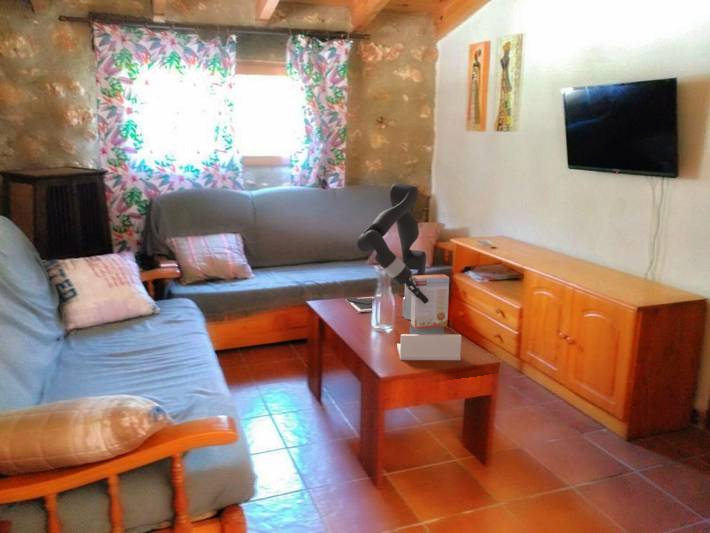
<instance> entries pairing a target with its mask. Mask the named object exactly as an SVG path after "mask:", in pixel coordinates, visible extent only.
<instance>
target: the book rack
mask: <svg viewBox="0 0 710 533" xmlns="http://www.w3.org/2000/svg"><path fill="white" fill-rule="evenodd" d="M396 348H397V352H398V356H399V360H400V361H461V351H462V350H461V348H462V335H461V334H444V335H441V334H410V333H408V334H407V333H405V334H404V333H403V334H400V343H396Z"/></svg>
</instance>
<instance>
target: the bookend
mask: <svg viewBox="0 0 710 533" xmlns="http://www.w3.org/2000/svg"><path fill="white" fill-rule="evenodd" d="M409 334H441V335H445V327H434V328H419V329H415V328H414V327H413V326H412V325H411V324H410V325H409Z"/></svg>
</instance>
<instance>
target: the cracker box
mask: <svg viewBox="0 0 710 533" xmlns="http://www.w3.org/2000/svg"><path fill="white" fill-rule="evenodd" d="M412 278H413V280H414V281H415V284H416V287H417V288H418V287H419V290H420V291H421V292H422V293H423V294H424V295H425V296H426V297H427V298H428V300H429V301H428V302H427V303H426V304H425V303H423V302H422V300H421V299H420V298H417V297H416V296H415V295H414V294H413V293H412V301H411V320H410V325H412V326H413V327H414V328H415V329H419V328H434V327H444V328H446V327H448V318H449V317H448V315H449V296H450V295H449V294H450V292H449V291H450V289H449V288H450V277H449V276H448V275H446V274H425V275H418V276H412ZM418 293H419V292H418V291H417V292H416V294H418Z"/></svg>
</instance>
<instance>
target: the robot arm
mask: <svg viewBox="0 0 710 533" xmlns="http://www.w3.org/2000/svg"><path fill="white" fill-rule="evenodd" d="M418 198H419V190H418V188H417V187H416V186H414V185H410V184H405V183H402V182H394V183H392V185H391V186H390V190H389V199H390V203H391V207H390V208H388V209H386V210H384V211H382V212H380V213H379V214H378V216H376V218H375V219H374V220H373V222H372V223H371V224H370V226H369V227H367V228H366V229H365V230H364V232H362V233H361V235H360V236H358V238H357V241H356V244H357V249H358V250H359V251H360V252H362V253H369V252H371V251H373V250H374V251H375V253H376V254H375V256H374V260H375V261H376V263H377V264H378V265H379V266H380V267H381V268H382V269H383V271H384V272H385V273H386V274H387V275H388V276H389V277H390V278H391V279H392V280H393V281H394V282H395V283H396V284H397V285H398V286H401V285H403V284H404V297H403V298H402V305H401V306H402V308H401V309H402V311H401V312H402V313H401V317H403V319H406V320H410V321H411V301H412V293H413V294H414V295H415V296H416V297H417V298H420V299H421V300H422V302H423V303H425V304H426V303H427V302H428V301H429V300H428V298H427V297H426V296H425V295H424V294H423V293H422V292H421V291H420V290H419V287H418V288H417V287H416V284H415V281H414V280H413V278H412V276H418V275H426V266H427V253H426V252H425V251H424V250H415V249H411V247H412V245H414V243H415V242H416V241H417V240H418V238H419V234H420V231H419V223H418V220H417V219H416V217H415V216H414V215H413V213H412V212H411V211H410V210H411V209H412V208H413V207H414V206H415V205H416V203H417V201H418ZM395 223H396V227H397V233H398V237H399V241H400V247H401V257H402V260H401V259H400V258H399V257H398V256H397V255H396V254H395V253H394V252H392V250H391V249H390V248H389V246H388V244H387V243H386V241H385V239H384V236H386V234H387V233H388V232H390V229H391V228H392V227H393V225H394V224H395ZM412 270H414V271H417V272H415V273H414V274H413V271H412ZM417 291H418V292H419V293H418V294H416V292H417Z"/></svg>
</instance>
